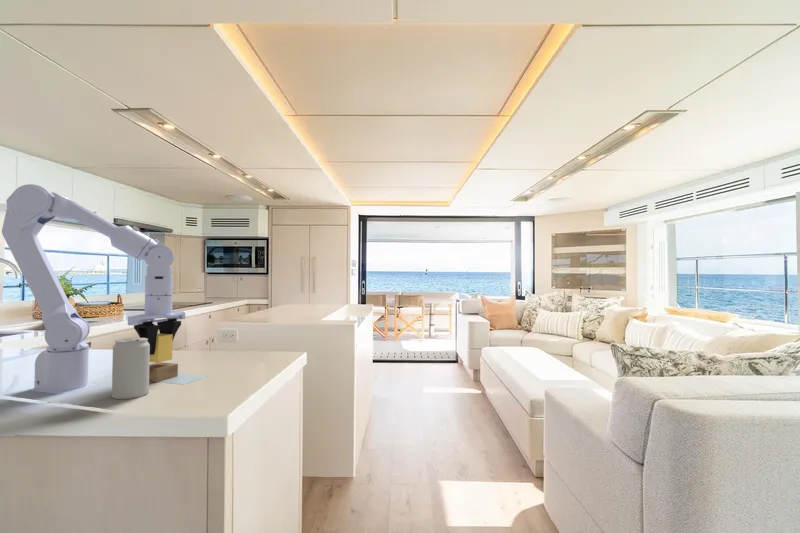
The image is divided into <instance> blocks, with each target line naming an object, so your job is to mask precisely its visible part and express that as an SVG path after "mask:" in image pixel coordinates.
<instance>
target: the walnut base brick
mask: <svg viewBox="0 0 800 533" xmlns="http://www.w3.org/2000/svg"><path fill="white" fill-rule="evenodd" d="M178 373H179V364H178V363H172V362H164V361H163V362H158V363H157V362H152V363H149V383H151V382H152V383H161V382H160V381H163V380H166V379H170V378H173V377H177V376H178Z"/></svg>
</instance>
